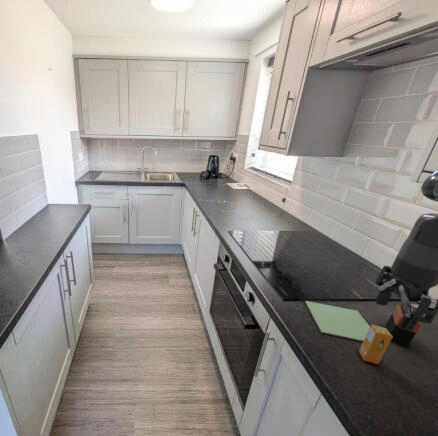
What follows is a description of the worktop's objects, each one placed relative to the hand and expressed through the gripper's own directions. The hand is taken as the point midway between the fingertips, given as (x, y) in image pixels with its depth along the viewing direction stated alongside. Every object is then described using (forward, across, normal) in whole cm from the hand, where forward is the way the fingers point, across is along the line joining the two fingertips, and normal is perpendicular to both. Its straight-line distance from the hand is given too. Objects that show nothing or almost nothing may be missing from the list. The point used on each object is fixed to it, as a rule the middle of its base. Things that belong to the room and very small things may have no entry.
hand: (391, 315), depth 58 cm
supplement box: (+15, 0, 0) cm, 15 cm away
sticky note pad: (+15, +13, +1) cm, 20 cm away
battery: (+15, +11, -13) cm, 23 cm away
